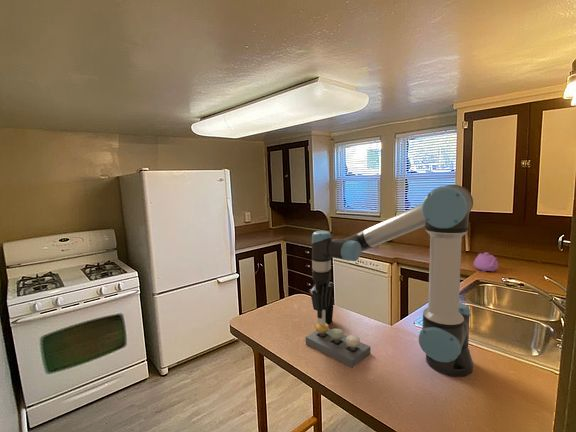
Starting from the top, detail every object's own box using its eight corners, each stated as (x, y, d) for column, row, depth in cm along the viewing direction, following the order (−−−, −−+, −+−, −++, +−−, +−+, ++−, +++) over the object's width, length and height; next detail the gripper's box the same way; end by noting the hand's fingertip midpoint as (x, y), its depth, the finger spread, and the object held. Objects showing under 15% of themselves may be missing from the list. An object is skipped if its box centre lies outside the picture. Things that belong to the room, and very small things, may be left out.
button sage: (346, 341, 123) (346, 331, 122) (338, 347, 119) (338, 336, 118) (335, 337, 126) (335, 327, 126) (327, 342, 123) (327, 332, 122)
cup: (323, 317, 150) (323, 293, 148) (337, 321, 145) (337, 297, 144) (314, 323, 144) (314, 298, 143) (328, 327, 139) (328, 302, 138)
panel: (370, 353, 119) (370, 346, 118) (352, 367, 111) (352, 360, 110) (324, 332, 135) (324, 326, 135) (305, 343, 127) (305, 336, 127)
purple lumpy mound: (506, 275, 201) (507, 256, 199) (484, 275, 202) (485, 257, 200) (487, 265, 221) (488, 249, 219) (467, 266, 221) (468, 249, 220)
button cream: (362, 349, 117) (362, 338, 117) (354, 354, 114) (354, 344, 113) (351, 344, 121) (350, 333, 120) (343, 349, 117) (343, 338, 117)
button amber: (331, 335, 128) (331, 325, 127) (323, 339, 124) (323, 329, 124) (321, 330, 132) (321, 321, 131) (313, 335, 128) (313, 325, 128)
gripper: (324, 264, 131) (324, 316, 135) (303, 271, 122) (304, 326, 126) (338, 267, 126) (338, 322, 129) (317, 275, 117) (318, 333, 120)
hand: (321, 324), depth 128 cm, fingers closed
